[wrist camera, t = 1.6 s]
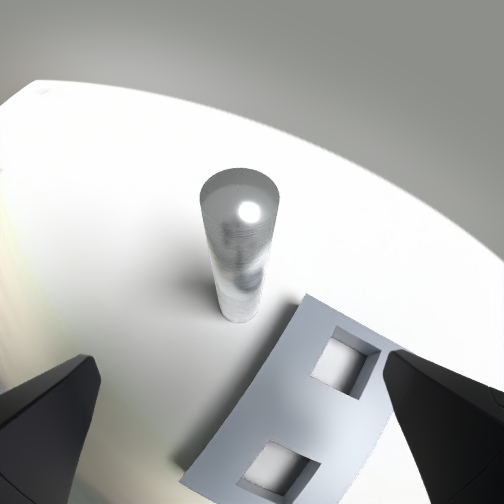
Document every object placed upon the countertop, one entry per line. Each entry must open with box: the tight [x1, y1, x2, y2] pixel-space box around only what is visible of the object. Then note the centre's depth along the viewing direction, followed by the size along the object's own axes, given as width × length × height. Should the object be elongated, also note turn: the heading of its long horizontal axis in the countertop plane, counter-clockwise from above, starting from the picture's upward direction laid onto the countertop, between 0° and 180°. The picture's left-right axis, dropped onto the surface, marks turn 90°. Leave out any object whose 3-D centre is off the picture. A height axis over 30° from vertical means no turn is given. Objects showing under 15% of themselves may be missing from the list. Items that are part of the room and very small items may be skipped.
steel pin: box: [200, 168, 280, 323], centre depth 16 cm, size 3×3×12 cm
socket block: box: [178, 293, 416, 504], centre depth 15 cm, size 16×10×2 cm, turn 148°
